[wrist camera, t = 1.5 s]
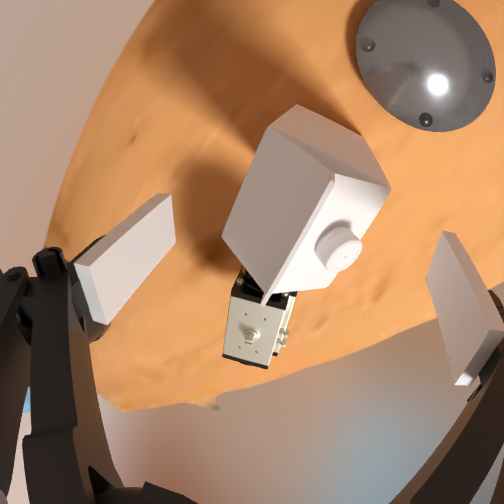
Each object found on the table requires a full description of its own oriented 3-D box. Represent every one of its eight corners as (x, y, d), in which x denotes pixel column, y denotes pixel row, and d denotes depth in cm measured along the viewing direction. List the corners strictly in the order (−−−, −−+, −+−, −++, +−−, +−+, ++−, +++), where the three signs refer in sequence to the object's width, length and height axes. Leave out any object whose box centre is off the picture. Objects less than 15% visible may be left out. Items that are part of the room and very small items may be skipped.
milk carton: (267, 166, 31) (195, 275, 16) (296, 103, 28) (248, 139, 12) (331, 198, 32) (325, 334, 16) (364, 137, 28) (409, 222, 12)
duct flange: (350, 115, 27) (351, 116, 26) (356, -21, 20) (357, -25, 19) (481, 144, 24) (486, 146, 23) (491, 16, 17) (497, 14, 16)
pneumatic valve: (246, 300, 41) (217, 373, 31) (261, 218, 35) (229, 284, 24) (288, 311, 40) (271, 388, 30) (311, 230, 34) (300, 303, 24)
